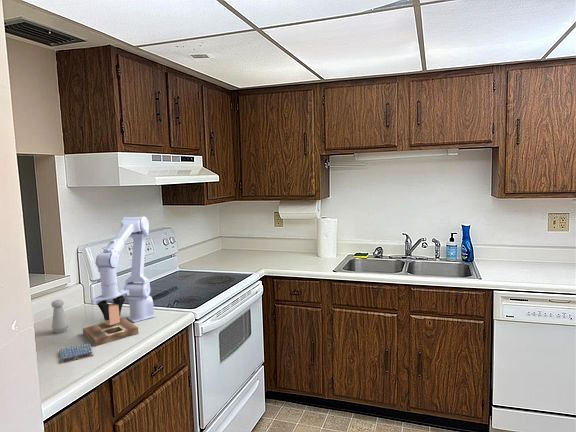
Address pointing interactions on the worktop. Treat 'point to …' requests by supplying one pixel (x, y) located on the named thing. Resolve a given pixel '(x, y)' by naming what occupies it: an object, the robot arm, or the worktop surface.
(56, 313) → the salt shaker
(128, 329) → the wooden peg board
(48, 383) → the worktop surface
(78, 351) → the woven mat
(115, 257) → the robot arm
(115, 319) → the pin
